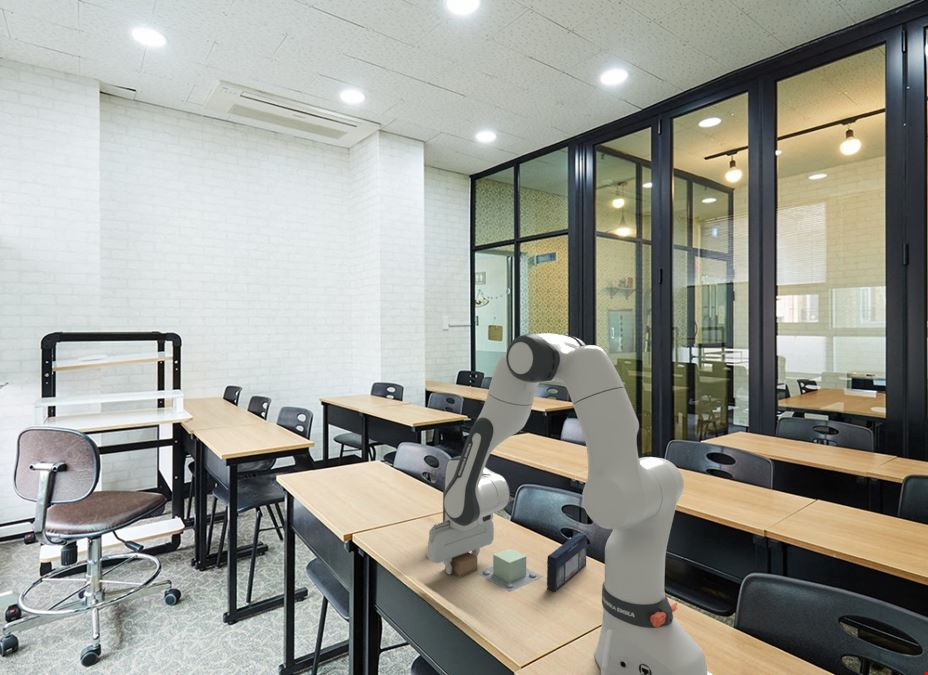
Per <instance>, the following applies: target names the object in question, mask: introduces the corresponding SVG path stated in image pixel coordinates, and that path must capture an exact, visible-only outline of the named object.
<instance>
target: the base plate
mask: <svg viewBox="0 0 928 675" xmlns="http://www.w3.org/2000/svg"><path fill="white" fill-rule="evenodd" d="M477 575H480V576H481V577H483V578H485V579H486V580H488V581H489V582H492V583H493V584H494V585H497V586H498V587H500V588H503V589H504V590H506V591H507V592H513V590H516V589H517V590H518V588H521V587H523V586H526V585H528V584H529V583H532V582H534V581H537V580H539V579H541V578H543V577H544V576H543V575H541V574H540V573H536V572H534V571H533V570H531V569H528V568H527V567H526V576H524V577H522V578H519V579H517V580H515V581H513V582H510V583H509V582H507V581H505V580H504V579H502V578H500V577H498V576H496V575H495V574H493V566H491V567H488V568H486V569H483V570H481V571H478V572H477Z"/></svg>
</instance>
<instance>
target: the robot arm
mask: <svg viewBox="0 0 928 675" xmlns="http://www.w3.org/2000/svg"><path fill="white" fill-rule="evenodd" d="M490 380H491V381H490V383H489V388H488V392H487V395H486V399H485V401H484V404H483V407H482V409H481V411H480V414H479V415H478V417H477V419H476V420H475V422H474V423H473V425H471V429H470V430H469V433H468V435H467V438H466V440H465V443H464V445H463V446H464V447H463V449H462V452H461V455H457V456H454V457H451V458H450V459H449V460H448V462H447V465H446V470H445V486H444V489H446V490H445V493H444V497H443V496H442V506H443V505H444V510H445V521H444V522H443V521H441V522H438V523H435V524H433V526H432V527H431V529H430V530H429V531H428V541H427V548H426V549H427V550H426V555H427V558H428V559H429V560H430V561H431V562H433V563H436V564H439V563H441V562H443V564H444V566H446V569H445V572H446V574H448V575H451V574H453V573H454V566H452V565H451V564H450V562H451V559H452V558H453V557H456V556H458V555H461V554H464V553H467V552H469V553H471V554H473V555H475V556H476V557H477V558H478V557H479V553H480V549H481V548H483V547H486V546H490V545H491V544H492V543H493V541H494V539H495V535H494V534H495V533H494V532H495V528H494V522H493V519H494V513H496V512H498V511H501V510H502V509H504V508H506V507H507V506H508V504H509V503H510V499H511V498H510V497H511V491H510V487H509V484H508V482H507V480H506V478H505V477H504V476H503V475H502V474H500V473H497V472H494V471H492V470H490V469H488V468H487V467H486V465H487V463H488V462H487V461H488V459H489V457H490V455H491V453H492V452H493V451H494V450H495V449H496V448H497V446H499V445H500V444H501V443H503V442H504V441H505V440H507V439H509V438H511V437H512V436H513V435H515V434H517V433H519V432H520V431H521V430H522V429H523V428H524V427H525V425H526V423H527V422H528V420H529V417H530V416H531V411H532V408H533V405H534V404H533V403H534V401H535V400H534V399H535V395H536V390H537V388H538V386H539V384H540V383H549V384H550V383H551V384H552V383H562V384H563V385H564V387H565V388H566V389H567V392H568V394H569V397H570V400H571V403H572V405H573V406H572V407H573V408H574V411H575V414H576V417H577V419H578V422H579V426H580V428H581V432H582V435H583V438H584V441H585V446H586V453H587V476H586V477H587V479H586V482H585V484H584V487H583V491H582V503H583V507H584V510H585V513H586V514H587V515H588V517H589V518H590V520H591V521H592V522H593V523H594V524H596V525H597V526H599V527H601V528H602V529H605V530H612V532H610V536H609V537H608V538H607V541H606V543H605V548H604V581H603V583H602V585H601V586H602V587H601V589H602V590H601V604H602V608H603V612H602V620H601V621H602V622H601V627H600V634H599V638H598V642H597V645H596V647H595V651H594V658H595V662H596V663H597V665H598V667H599V669H600V675H713V673H711V672H709V671H708V666H707V661H706V656H705V653H704V651H703V649H702V648H701V646H700V645H699V644H698V643H697V642H696V641H695V640H694V638H692V637H691V636H690V634H688V632H687V631H686V630H685V629H684V627H683V626H682V625H681V624H680V623H679V622H678V621H677V620H676V619H675V617H674V614H673V613H674V612H675V611H677V609H678V607H677V606H678V602H675V603H673V604H672V605H670V602H669V600H668V597H667V594H666V591H665V574H666V573H665V572H666V570H665V568H666V553H667V546H668V542H669V538H670V534H671V529H672V524H673V522H674V516H675V512H676V508H677V505H678V502H679V501H680V498H681V497H682V495H683V492H684V485H685V484H684V479H683V478H684V477H683V476H682V473H681V471H680V469H679V468H678V467H677V466H676V465H675V464H674V463H672V462H671V461H669V460H668V459H665V458H661V457H655V456H654V457H653V456H644V457H643V456H642V457H639V452H638V445H637V444H638V443H637V436H638V433H639V429H640V423H639V419H638V417H637V414H636V412H635V410H634V407H633V404H632V401H631V400H630V397H629V395H628V392H627V390H626V388H625V384H624V382H623V381H622V378H621V376H620V375H619V372H618V370H617V369H616V367H615V365H614V364H613V362H612V360H611V359H610V357H609V356H608V354H607V353H606V351H605V350H604V349H603V348H601V347H600V346H597V345H591V344H589V345H588V344H585V342H584V341H583V340H581V339H580V338H577V337H575V336H572V335H569V334H568V335H566V334H565V335H562V334H558V333H557V334H555V333H551V332H550V333H549V332H542V333H525V334H521V335H519V336H517V337H515V338H514V339H513V340H512V341H511V342H510V343H509V345H508V346H507V350H506V353H504V354H503V355H502V356H500V358H499V360H498V361H497V365H496V367H495V369H494V372H493V374H492V376H491V379H490Z"/></svg>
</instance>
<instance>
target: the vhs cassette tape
mask: <svg viewBox="0 0 928 675" xmlns="http://www.w3.org/2000/svg"><path fill="white" fill-rule="evenodd" d="M587 539H588V535H587V533H582V532H578V533H577V534H575V535H573V536H572V537H571V538H569V539H568V540H566V542H565V543H564V544H562V545H560V546H559V547H558V548H557V549H555V550H553V552H551V553H550V554H549V555H547V558H546V559H547V560H546V564H547V567H546V568H547V569H546V590H547V591H550V592H553V593H557V592H558V591H559V590H560V589H561V588H562V587H563V586H564V585H566V584H567V583H568V582H570V581H571V579H573V578H574V577H575V576H576V575H577V574H578V573H580V572H581V571H582V569H584V568H585V567H586V566H587V550H588V548H587V543H588V542H587V541H588V540H587Z"/></svg>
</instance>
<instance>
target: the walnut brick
mask: <svg viewBox="0 0 928 675" xmlns="http://www.w3.org/2000/svg"><path fill="white" fill-rule="evenodd" d="M471 553H472V552H467V553H464V554H461V555H458V556H456V557H453V558H452V559H451V562H450V564H451V565H452V566H454V573H452V574H453V575H455V576H456V577H458V578H461V577H464V576H467V575H469V574H473V573H475V572H477V571H478V556H477V557H476V556H475V555H473V554H471ZM444 566H445V565H444ZM444 569H445V570H446V566H445V567H444Z"/></svg>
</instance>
